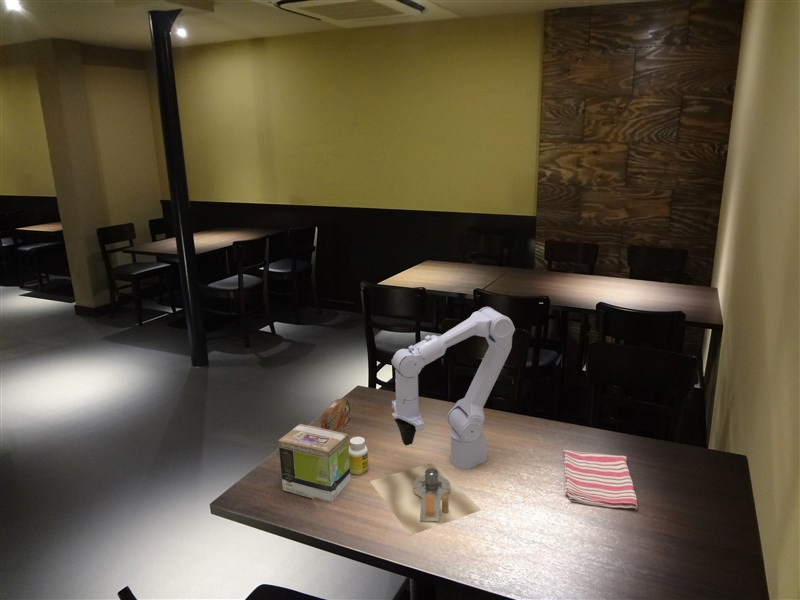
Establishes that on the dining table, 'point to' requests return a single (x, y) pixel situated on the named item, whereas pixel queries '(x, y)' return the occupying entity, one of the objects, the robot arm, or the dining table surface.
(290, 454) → the tea box
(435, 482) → the post
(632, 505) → the dish towel
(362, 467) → the supplement bottle
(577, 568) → the dining table surface
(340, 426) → the brown flat packet
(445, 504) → the dowel
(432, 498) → the crank
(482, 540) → the dining table surface
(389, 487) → the board
